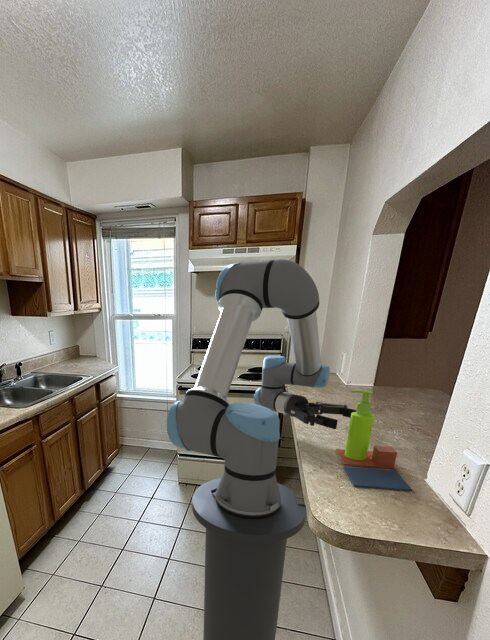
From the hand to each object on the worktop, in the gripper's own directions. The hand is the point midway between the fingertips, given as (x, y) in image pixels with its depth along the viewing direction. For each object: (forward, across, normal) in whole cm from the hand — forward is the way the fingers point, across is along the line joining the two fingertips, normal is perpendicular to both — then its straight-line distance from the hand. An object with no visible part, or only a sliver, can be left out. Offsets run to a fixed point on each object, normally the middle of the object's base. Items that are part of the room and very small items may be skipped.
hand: (350, 420), depth 105 cm
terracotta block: (+10, -1, -10) cm, 15 cm away
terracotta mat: (+5, -1, -11) cm, 12 cm away
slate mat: (+14, +8, -11) cm, 20 cm away
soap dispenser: (+3, 0, -11) cm, 11 cm away
